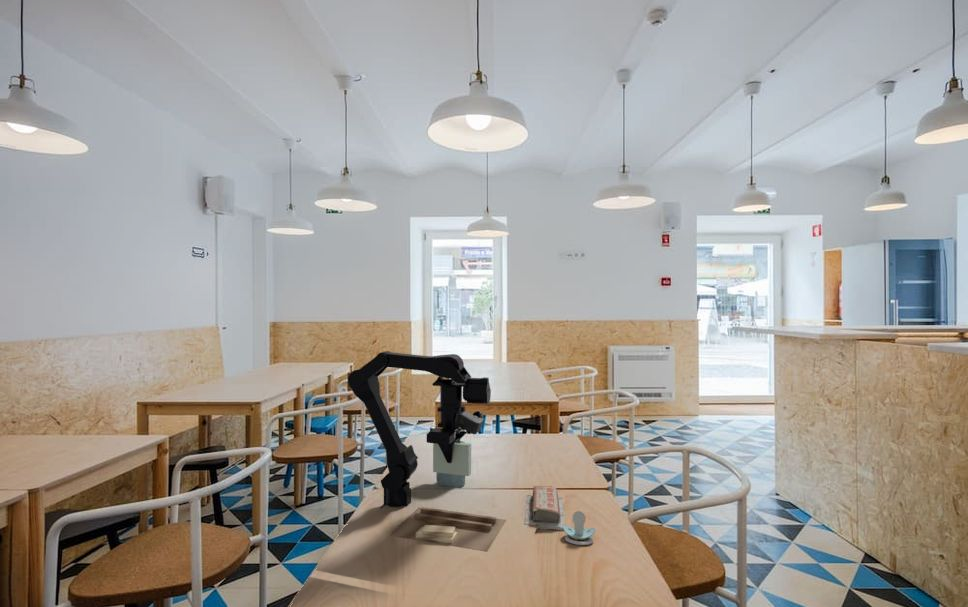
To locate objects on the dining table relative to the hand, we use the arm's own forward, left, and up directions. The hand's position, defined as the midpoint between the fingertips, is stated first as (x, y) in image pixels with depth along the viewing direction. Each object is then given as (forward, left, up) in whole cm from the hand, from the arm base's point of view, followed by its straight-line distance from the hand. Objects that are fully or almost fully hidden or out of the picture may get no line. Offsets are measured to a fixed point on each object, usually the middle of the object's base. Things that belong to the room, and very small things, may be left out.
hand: (451, 461), depth 129 cm
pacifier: (+34, -5, -13) cm, 37 cm away
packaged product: (+24, +6, -14) cm, 28 cm away
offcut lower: (+3, -16, -12) cm, 21 cm away
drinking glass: (-7, +17, -13) cm, 23 cm away
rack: (+4, -11, -13) cm, 17 cm away
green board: (0, 0, -3) cm, 3 cm away
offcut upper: (+4, -16, -11) cm, 20 cm away
